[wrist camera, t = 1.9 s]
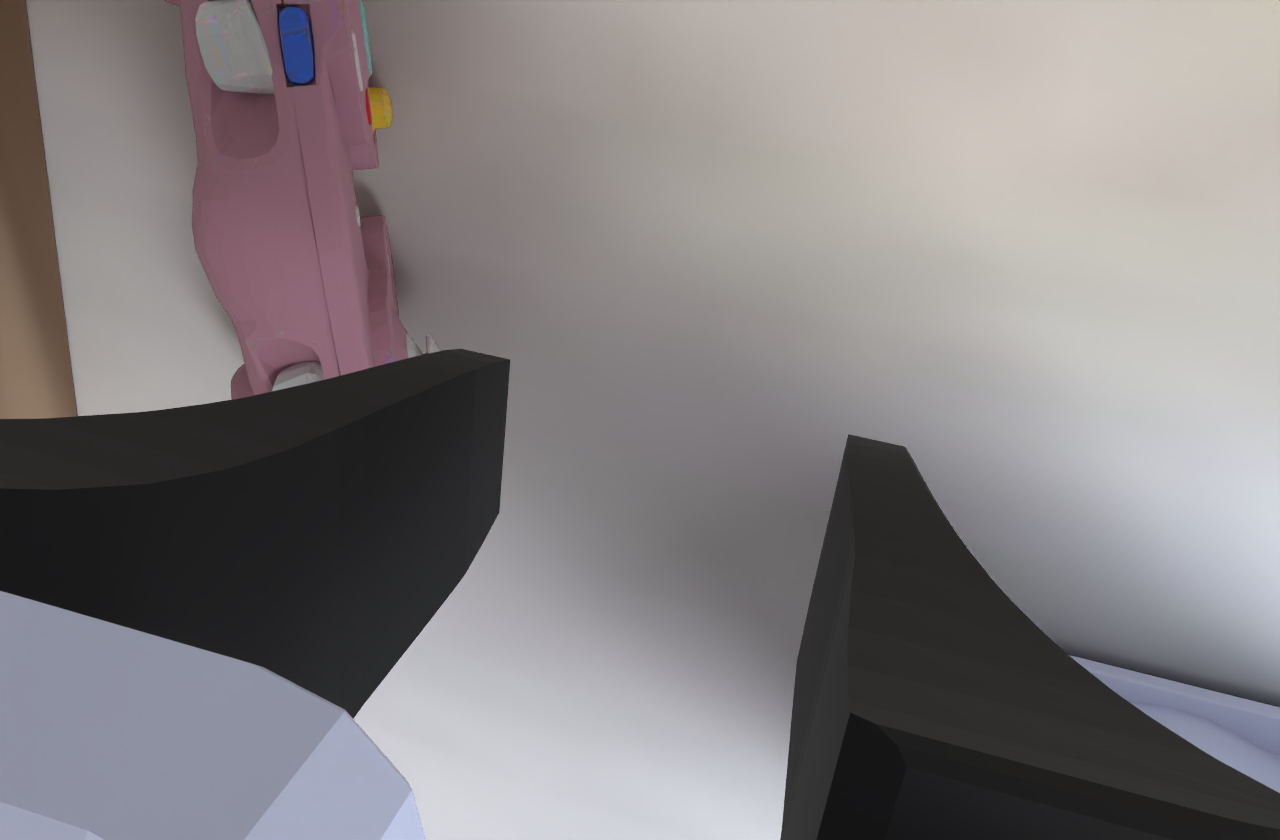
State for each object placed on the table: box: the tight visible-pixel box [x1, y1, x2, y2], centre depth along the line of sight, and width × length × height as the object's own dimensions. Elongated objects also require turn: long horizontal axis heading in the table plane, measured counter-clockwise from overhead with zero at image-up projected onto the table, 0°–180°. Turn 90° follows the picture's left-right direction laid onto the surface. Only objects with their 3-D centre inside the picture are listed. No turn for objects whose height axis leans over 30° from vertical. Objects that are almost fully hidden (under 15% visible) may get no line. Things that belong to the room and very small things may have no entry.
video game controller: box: [165, 0, 442, 399], centre depth 20 cm, size 10×5×7 cm, turn 3°
